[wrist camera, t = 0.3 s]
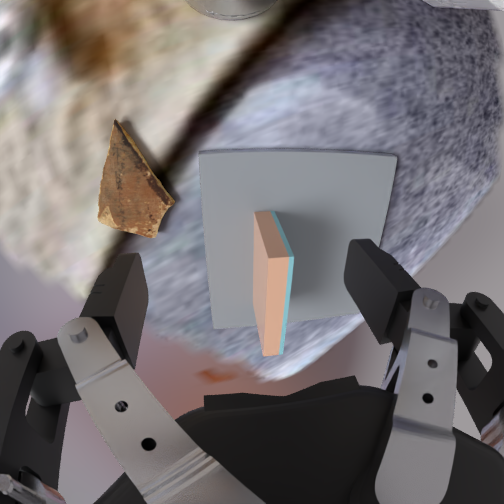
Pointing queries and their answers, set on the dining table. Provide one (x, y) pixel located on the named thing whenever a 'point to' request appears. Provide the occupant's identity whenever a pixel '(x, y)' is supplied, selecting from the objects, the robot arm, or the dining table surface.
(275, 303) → the tile
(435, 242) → the dining table surface
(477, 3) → the white cup
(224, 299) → the board
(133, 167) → the shard
